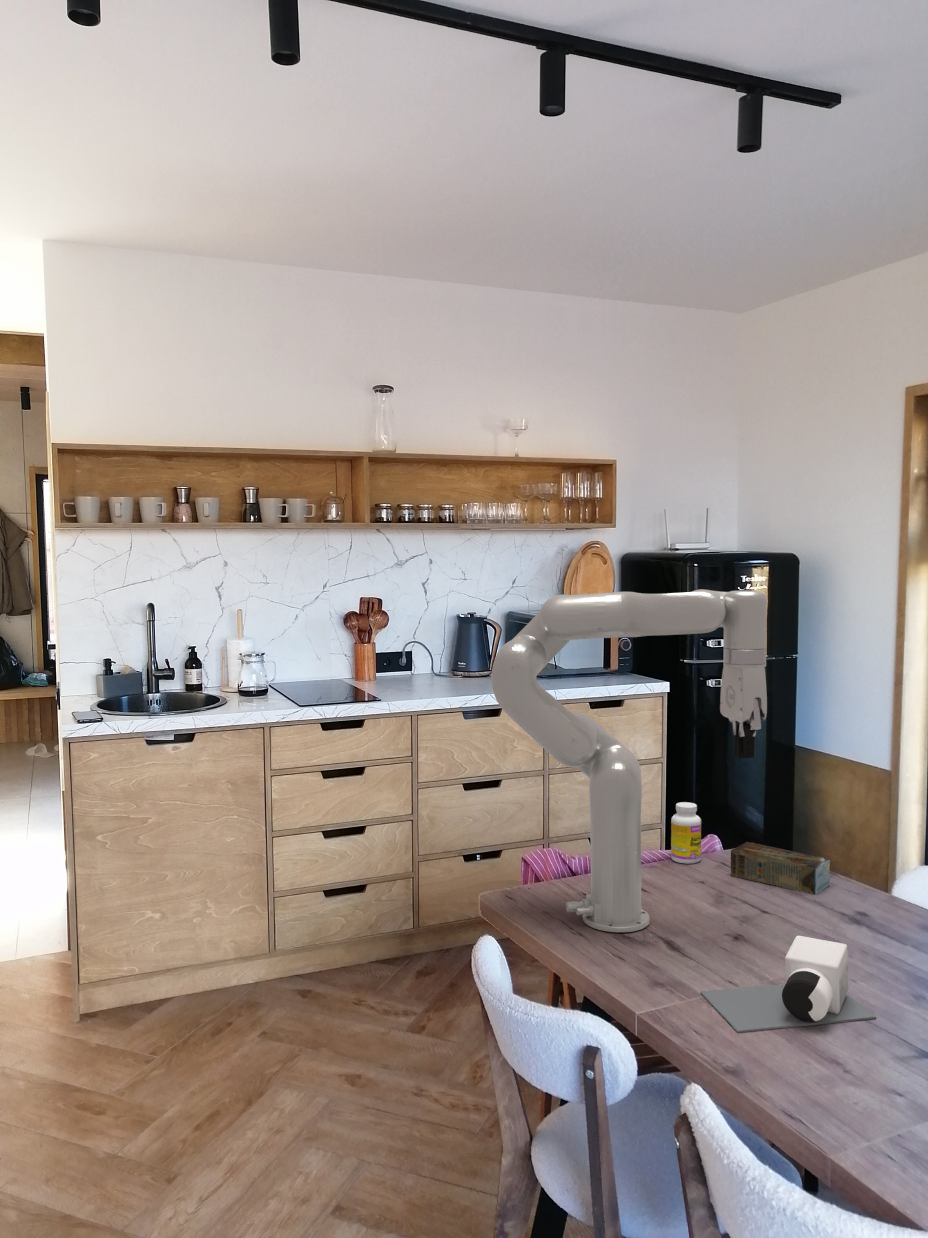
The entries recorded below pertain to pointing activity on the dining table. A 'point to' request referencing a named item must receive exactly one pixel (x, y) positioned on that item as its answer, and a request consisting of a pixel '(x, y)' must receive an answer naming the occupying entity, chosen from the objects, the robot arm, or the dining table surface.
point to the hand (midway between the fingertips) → (744, 757)
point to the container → (815, 978)
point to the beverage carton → (780, 867)
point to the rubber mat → (772, 1009)
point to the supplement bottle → (686, 834)
